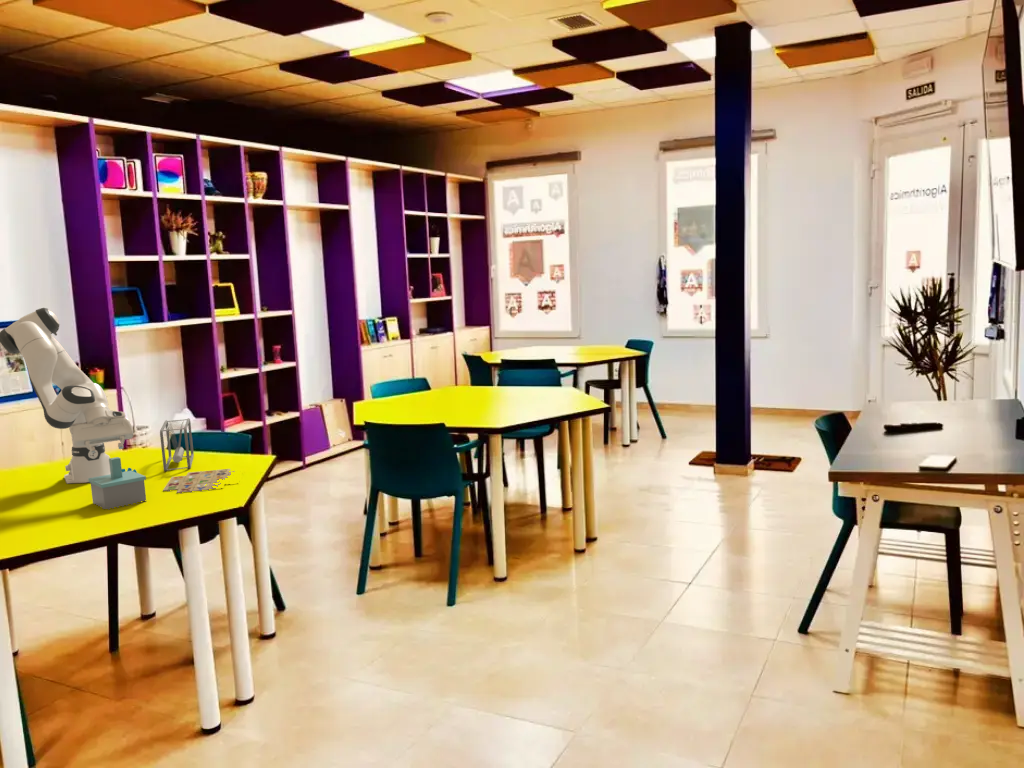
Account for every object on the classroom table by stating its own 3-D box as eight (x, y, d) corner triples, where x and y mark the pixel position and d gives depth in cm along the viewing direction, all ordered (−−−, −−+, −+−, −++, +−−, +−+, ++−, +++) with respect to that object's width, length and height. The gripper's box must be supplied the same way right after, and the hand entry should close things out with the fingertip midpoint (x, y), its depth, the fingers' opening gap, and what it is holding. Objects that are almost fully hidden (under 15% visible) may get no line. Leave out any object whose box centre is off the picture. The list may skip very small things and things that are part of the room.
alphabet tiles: (160, 496, 313) (160, 493, 313) (173, 476, 345) (173, 473, 345) (238, 488, 320) (238, 485, 320) (244, 469, 352) (244, 466, 352)
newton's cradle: (190, 469, 355) (186, 428, 353) (163, 472, 352) (159, 430, 350) (193, 456, 384) (190, 417, 381) (169, 458, 381) (165, 419, 378)
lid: (88, 484, 306) (85, 459, 305) (131, 476, 316) (129, 452, 314) (102, 490, 295) (99, 465, 293) (146, 482, 305) (143, 457, 303)
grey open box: (92, 503, 307) (90, 481, 306) (133, 495, 316) (130, 474, 315) (105, 509, 296) (102, 487, 295) (146, 501, 306) (143, 479, 305)
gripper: (68, 419, 307) (75, 449, 300) (129, 411, 319) (137, 440, 312) (68, 430, 311) (75, 460, 305) (128, 421, 323) (136, 450, 316)
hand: (107, 450), depth 308 cm, fingers open, 8 cm apart
